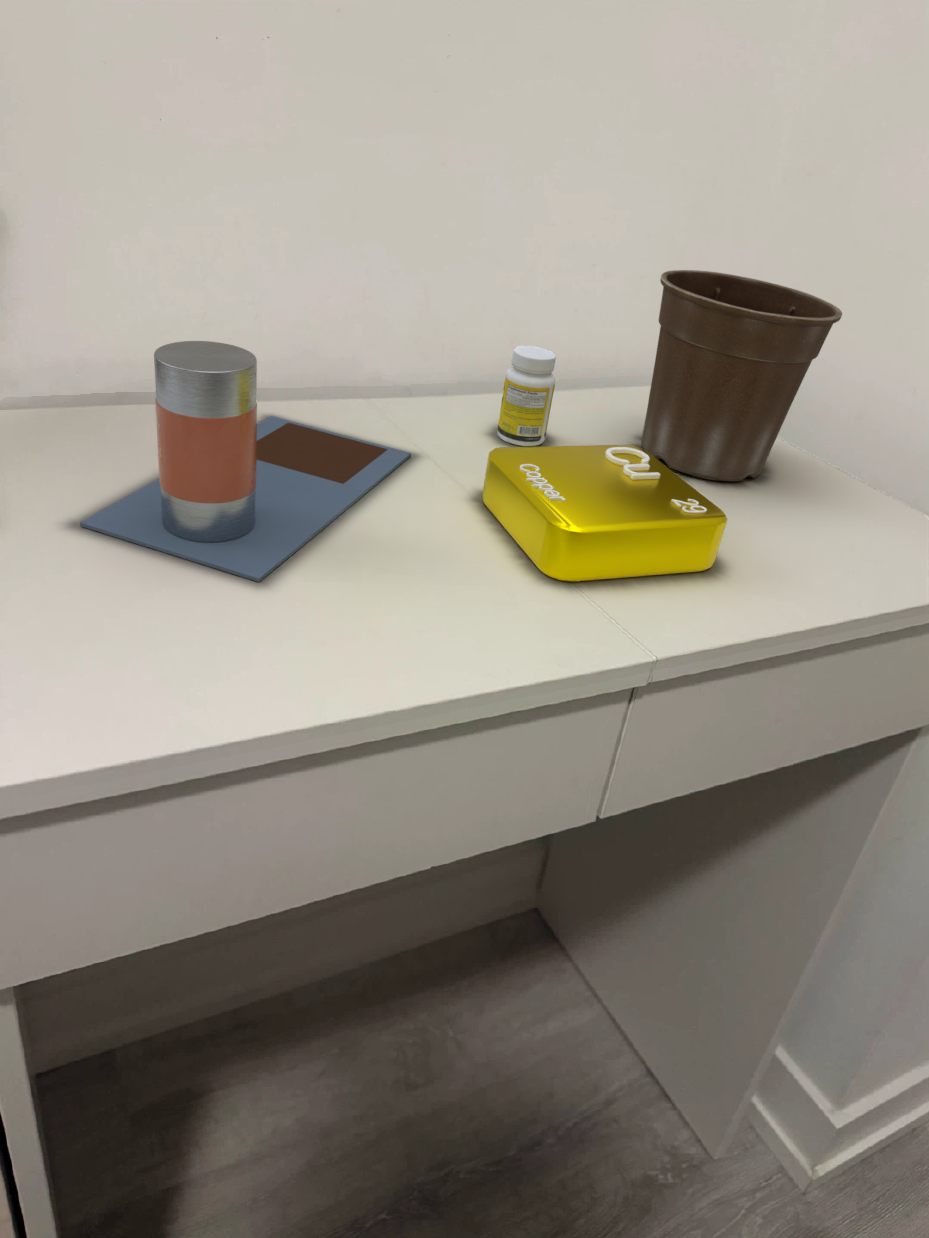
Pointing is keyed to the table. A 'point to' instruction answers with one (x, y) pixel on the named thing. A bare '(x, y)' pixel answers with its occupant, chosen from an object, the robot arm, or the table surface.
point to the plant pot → (728, 370)
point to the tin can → (206, 439)
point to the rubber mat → (267, 499)
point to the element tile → (601, 512)
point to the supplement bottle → (527, 396)
